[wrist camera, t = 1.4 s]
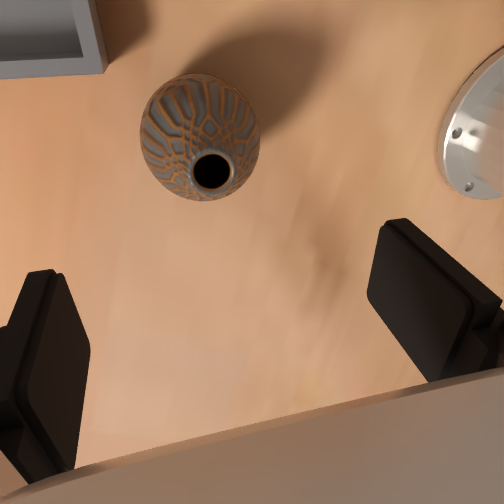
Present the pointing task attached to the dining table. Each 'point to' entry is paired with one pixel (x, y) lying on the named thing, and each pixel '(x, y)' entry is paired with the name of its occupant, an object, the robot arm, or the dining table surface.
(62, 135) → the dining table surface
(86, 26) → the tray
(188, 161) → the vase
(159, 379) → the dining table surface
